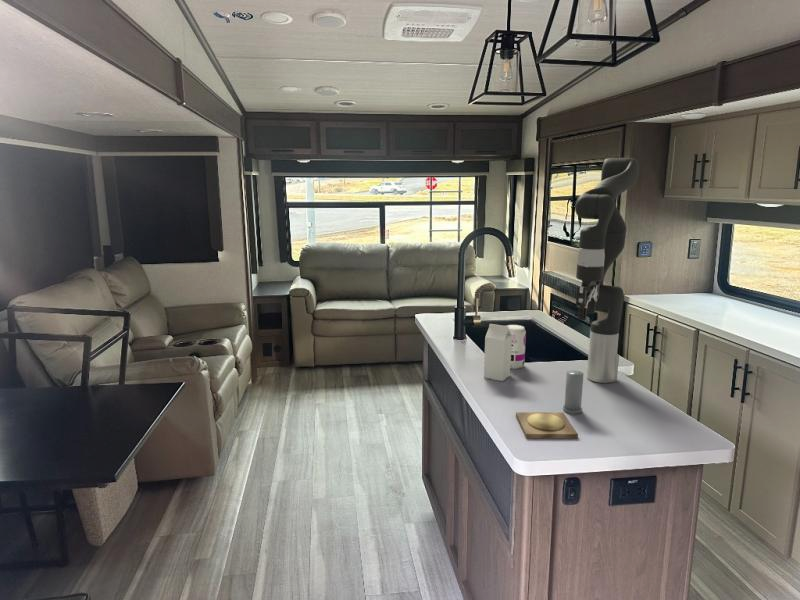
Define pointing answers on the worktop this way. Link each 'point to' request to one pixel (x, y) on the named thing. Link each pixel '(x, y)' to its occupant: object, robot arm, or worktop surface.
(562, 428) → the post base
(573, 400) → the grey rounded cylinder
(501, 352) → the milk carton
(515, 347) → the supplement can
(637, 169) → the robot arm
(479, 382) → the worktop surface
